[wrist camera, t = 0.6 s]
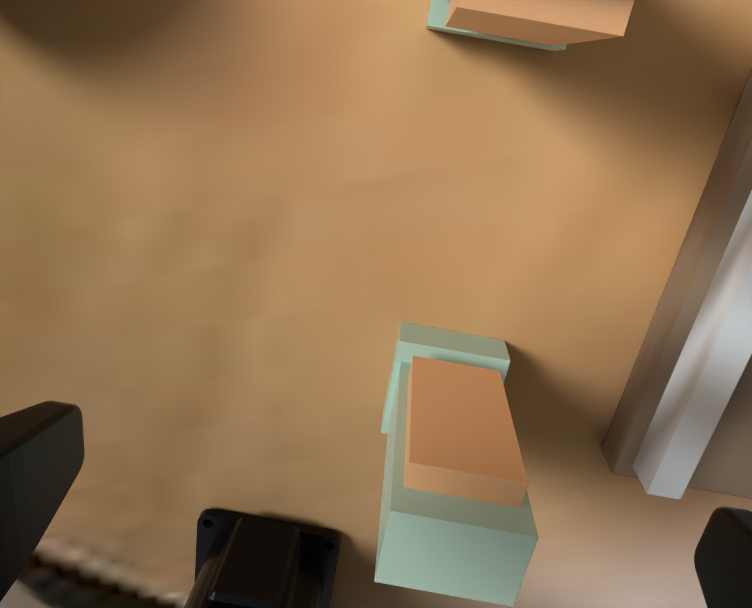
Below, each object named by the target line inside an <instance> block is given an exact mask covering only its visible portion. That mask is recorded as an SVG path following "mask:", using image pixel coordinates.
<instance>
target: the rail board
mask: <svg viewBox="0 0 752 608" xmlns="http://www.w3.org/2000/svg"><path fill="white" fill-rule="evenodd" d="M601 450H602V452H603V454H604V457H605V459H606V461H607V463H608V465H609V467H610V470H611V472H612V474H618V475H623V476H629V477H635V478H639V480H640V482H641V484H642V486H643V487H644V489H645V491H646V493H647V494H651V495H657V496H662V497H668V498H673V499H679V500H680V499H681V497H682V495H683V493H684V491H685V489H686V487H690V488H695V489H701V490H706V491H712V492H717V493H723V494H728V495H734V496H740V497H745V498H751V499H752V71H751V73H750V76H749V78H748V81H747V83H746V86H745V88H744V91H743V93H742V96H741V98H740V101H739V103H738V106H737V108H736V111H735V114H734V116H733V119H732V121H731V124H730V126H729V129H728V131H727V134H726V136H725V139H724V141H723V144H722V146H721V149H720V151H719V154H718V156H717V159H716V161H715V164H714V166H713V169H712V171H711V174H710V176H709V179H708V181H707V184H706V186H705V189H704V191H703V194H702V196H701V199H700V201H699V204H698V206H697V209H696V211H695V214H694V216H693V219H692V221H691V224H690V226H689V229H688V232H687V234H686V237H685V239H684V242H683V244H682V247H681V249H680V252H679V254H678V257H677V259H676V262H675V264H674V267H673V269H672V272H671V274H670V277H669V279H668V282H667V284H666V287H665V289H664V292H663V294H662V297H661V299H660V302H659V304H658V307H657V309H656V312H655V314H654V317H653V319H652V322H651V324H650V327H649V329H648V332H647V334H646V337H645V339H644V342H643V345H642V347H641V350H640V352H639V355H638V357H637V360H636V362H635V365H634V367H633V370H632V372H631V375H630V377H629V380H628V382H627V385H626V387H625V390H624V392H623V395H622V397H621V400H620V402H619V405H618V407H617V410H616V412H615V415H614V417H613V420H612V422H611V425H610V427H609V430H608V432H607V435H606V437H605V440H604V442H603V445H602V447H601Z"/></svg>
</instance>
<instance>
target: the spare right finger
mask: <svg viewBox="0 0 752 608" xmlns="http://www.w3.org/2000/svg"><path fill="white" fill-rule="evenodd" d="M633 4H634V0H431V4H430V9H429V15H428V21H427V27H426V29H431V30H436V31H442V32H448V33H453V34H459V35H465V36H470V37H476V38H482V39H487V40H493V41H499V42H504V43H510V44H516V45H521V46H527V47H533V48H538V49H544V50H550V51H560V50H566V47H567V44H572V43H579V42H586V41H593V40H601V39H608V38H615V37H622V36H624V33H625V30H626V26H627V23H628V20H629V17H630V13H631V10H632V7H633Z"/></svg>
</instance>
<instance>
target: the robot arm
mask: <svg viewBox="0 0 752 608" xmlns="http://www.w3.org/2000/svg"><path fill="white" fill-rule="evenodd" d="M83 460H84V436H83V421H82V412H81V410H80V408H79V407H78V406H77V405H75V404H69V403H63V402H57V401H46V402H43V403H40V404H37V405H34V406H31V407H28V408H26V409H23V410H20V411H17V412H14V413H11V414H8V415H6V416H3V417H0V602H1V600H2V599H3V597H4V596H5V594H6V593H7V591H8V590H9V589H10V587H11V586H12V585H13V583H14V582H15V580H16V579H17V577H18V576H19V574H20V573H21V571H22V570H23V568H24V567H25V565H26V563H27V562H28V560H29V558H30V557H31V555H32V554H33V552H34V550H35V548H36V547H37V545H38V543H39V541H40V540H41V538H42V536H43V534H44V533H45V531H46V529H47V527H48V526H49V524H50V522H51V520H52V519H53V517H54V515H55V513H56V512H57V510H58V508H59V506H60V505H61V503H62V501H63V499H64V498H65V496H66V494H67V492H68V491H69V489H70V487H71V485H72V484H73V482H74V480H75V478H76V477H77V475H78V473H79V471H80V469H81V467H82V464H83ZM209 520H211V521H212V522H211V521H209ZM328 542H332V543H328ZM340 542H341V539H340V536H339V534H337V533H336V532H334V531H330V530H325V529H319V528H314V527H308V526H303V525H297V524H292V523H286V522H281V521H275V520H270V519H264V518H259V517H253V516H248V515H242V514H237V513H231V512H226V511H220V510H215V509H206V510H204V511H203V512H202V513H201V515H200V517H199V519H198V522H197V545H196V567H195V584H194V586H193V589H192V591H191V593H190V596H189V598H188V600H187V602H186V605H185V607H184V608H329V602H330V597H331V591H332V586H333V580H334V575H335V570H336V564H337V559H338V553H339V548H340ZM694 563H695V569H696V573H697V576H698V579H699V582H700V585H701V588H702V592H703V595H704V598H705V601H706V604H707V608H752V512H751V511H748V510H743V509H737V508H730V507H719V508H717V509H716V510H715V511H714V512H713V513H712V515H711V517H710V519H709V521H708V524H707V526H706V528H705V530H704V532H703V534H702V537H701V539H700V541H699V543H698V545H697V547H696V550H695V555H694Z"/></svg>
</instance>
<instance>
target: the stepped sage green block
mask: <svg viewBox="0 0 752 608" xmlns="http://www.w3.org/2000/svg"><path fill="white" fill-rule="evenodd" d="M509 364H510V358H509V354H508V351H507V348H506V344H505V341H504V340H499V339H493V338H488V337H482V336H477V335H471V334H466V333H460V332H455V331H449V330H443V329H438V328H432V327H427V326H421V325H416V324H410V323H404V322H401V323H400V328H399V333H398V338H397V343H396V348H395V354H394V359H393V364H392V369H391V374H390V379H389V384H388V389H387V394H386V399H385V404H384V409H383V417H382V426H381V433H386V434H388V438H387V449H386V459H385V470H384V481H383V492H382V502H381V513H380V524H379V535H378V546H377V556H376V567H375V578H374V582H379V583H384V584H390V585H395V586H400V587H406V588H411V589H417V590H422V591H428V592H433V593H439V594H444V595H450V596H455V597H461V598H466V599H472V600H477V601H483V602H488V603H494V604H499V605H505V606H510V607H513V605H514V602H515V599H516V597H517V594H518V591H519V589H520V586H521V583H522V580H523V578H524V575H525V572H526V570H527V567H528V564H529V562H530V559H531V556H532V554H533V551H534V548H535V546H536V543H537V540H538V534H537V530H536V526H535V522H534V518H533V514H532V510H531V505H530V501H529V497H528V493H527V486H528V480H527V476H526V472H525V468H524V464H523V460H522V456H521V452H520V448H519V444H518V441H517V437H516V433H515V429H514V425H513V421H512V417H511V413H510V409H509V405H508V401H507V397H506V393H505V389H504V386H503V384H504V381H505V378H506V374H507V371H508V367H509Z"/></svg>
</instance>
